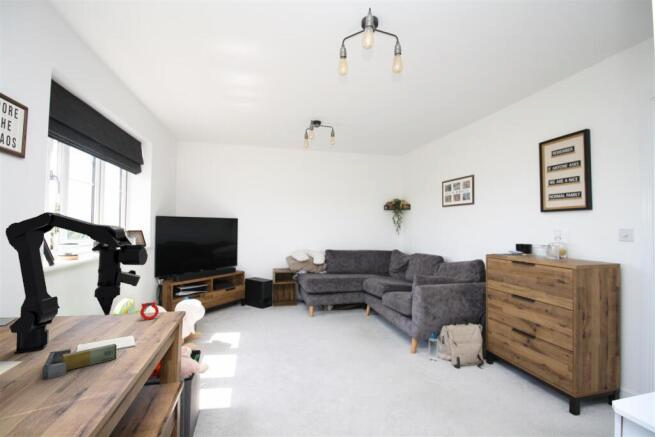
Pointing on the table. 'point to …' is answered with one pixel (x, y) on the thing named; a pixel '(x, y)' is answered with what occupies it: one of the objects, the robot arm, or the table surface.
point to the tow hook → (144, 308)
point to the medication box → (89, 356)
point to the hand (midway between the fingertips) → (107, 313)
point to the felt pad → (109, 343)
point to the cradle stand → (55, 369)
